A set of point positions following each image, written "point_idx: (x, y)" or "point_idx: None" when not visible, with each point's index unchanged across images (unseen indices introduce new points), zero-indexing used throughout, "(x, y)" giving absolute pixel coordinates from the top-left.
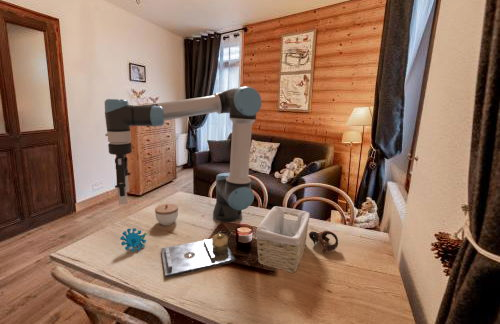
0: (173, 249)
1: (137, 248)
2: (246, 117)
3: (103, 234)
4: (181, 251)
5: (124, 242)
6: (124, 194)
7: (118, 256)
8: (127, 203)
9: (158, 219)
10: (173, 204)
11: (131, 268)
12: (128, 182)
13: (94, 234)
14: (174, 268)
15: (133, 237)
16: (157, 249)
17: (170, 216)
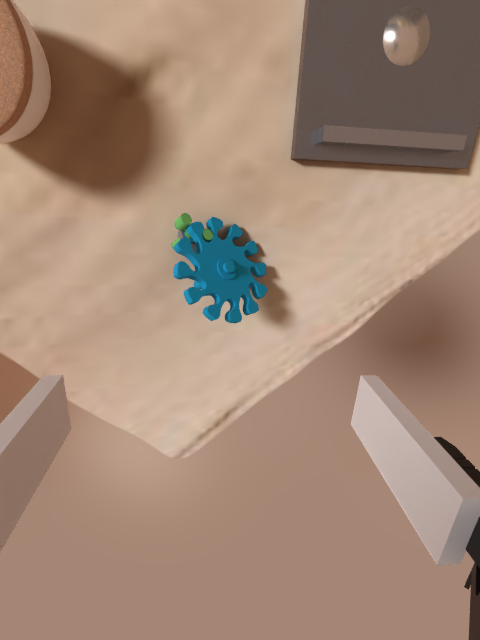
0: (327, 104)
1: (253, 252)
2: None
3: (73, 370)
4: (359, 68)
5: (250, 305)
6: (446, 447)
7: None
8: (373, 375)
9: (27, 133)
10: None
11: (346, 271)
12: (12, 441)
13: None
14: (452, 127)
15: (223, 272)
16: (270, 174)
17: (34, 42)
